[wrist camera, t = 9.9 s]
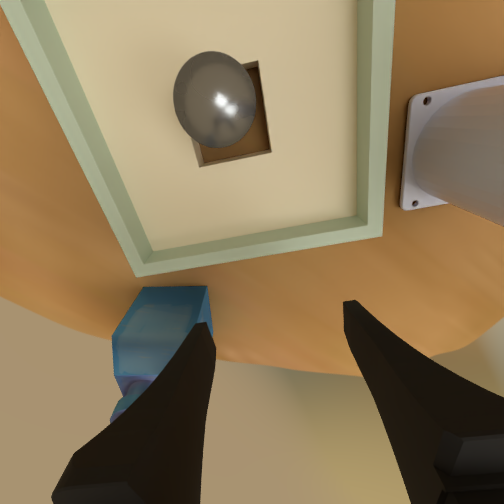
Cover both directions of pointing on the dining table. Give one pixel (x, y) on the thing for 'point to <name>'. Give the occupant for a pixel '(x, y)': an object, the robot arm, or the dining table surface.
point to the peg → (214, 99)
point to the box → (188, 150)
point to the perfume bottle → (154, 336)
